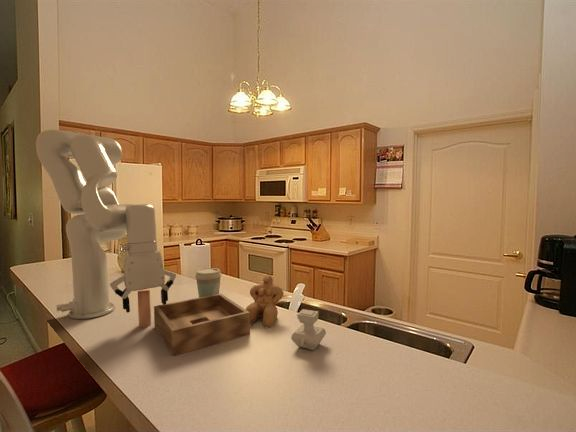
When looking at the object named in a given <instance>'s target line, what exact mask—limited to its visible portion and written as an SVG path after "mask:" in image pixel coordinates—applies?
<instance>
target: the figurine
mask: <svg viewBox="0 0 576 432" xmlns="http://www.w3.org/2000/svg"><path fill="white" fill-rule="evenodd" d="M262 281H263V283H262V284H256V285H253V286H252V287H251V288H250V290H249V295H250V296H251V298H252V299H253V301H254V302H252V303H250V304H248V306H246V308H245V310H247V311H248V312H250V325H253V324H254V323H256V321H257V320H258V318H260V317H262V323H263V327H264V328H266V329H268V328H271V327H272V326H274V324H275V322H276V320H277V318H278V314H279V312H278V311H279V310H278V307H277V306H276V304H278V303H279V301H281V299H282V298H283V297H284V294H285V293H284V290H283V289H282V287H280V286H278V285H275V284H274V283H273V282H274V281H273V277H272V275H270V274H266V275H264V277H263V279H262Z"/></svg>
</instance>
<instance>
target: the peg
mask: <svg viewBox="0 0 576 432" xmlns="http://www.w3.org/2000/svg"><path fill="white" fill-rule="evenodd" d="M137 313H138V327H140V328H148V327H150V326H151V325H152V316H151V315H152V313H151V290H150V289H143V290H137Z"/></svg>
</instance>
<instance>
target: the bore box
mask: <svg viewBox="0 0 576 432" xmlns="http://www.w3.org/2000/svg"><path fill="white" fill-rule="evenodd" d="M153 314H154V315H153V318H154V328H155V330H156V331H157V333H158V334H159V335H158V336H160V337H161V339H162V341H163V342H164V344H165V345H166V347H167V349H168V350H169V352H170V353H171V355H172V356H173V357H174V356H177V355H181V354H185V353H188V352H192V351H195V350H200V349H202V348H207V347H211V346H213V345H218V344H220V343H224V342H228V341H232V340H236V339H238V338H239V339H240V338H241V337H246V336H248V335H251V324H250V312H248V311H247V310H246V308H244V307H242V306H241V305H239V303H236V302H235V301H233V300H232V299H230V298H228V297H227V296H226V295H223V294H222V293H219V294H216V295H211V296H205V297H200V298H199V297H196V298H190V299H185V300H181V301H175V302H174V301H173V302H169V303H166V304H159V305H158V304H157V305H154V306H153Z"/></svg>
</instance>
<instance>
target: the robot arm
mask: <svg viewBox="0 0 576 432" xmlns="http://www.w3.org/2000/svg"><path fill="white" fill-rule="evenodd" d="M35 147H36V148H35V149H36V150H35V151H36V155H37V157H38V160H39V162H40V163H41V165H42V167H43V168H44V170H45V171H46V173H47V174H48V176H49V177H50V179H51V181H52V184H53V187H54V189H55V193H56V195H57V197H58V199H59V202H60V205H61V206H62V208H63V210H64V211H65V212H66V213H68V214H73V215H74V216H72V217H70V218H69V219H68V220H67V222H66V224H65V232H66V237H67V239H68V242H69V248H70V254H71V255H70V257H71V271H72V287H73V291H72V292H73V298H72V301H68V303H59V304H57V305H56V311H57V312H60V311H61V313H63V312H67V311H69V312H68V317H69V318H71V319H73V320H74V319H75V320H85V319H92V318H97V317H98V318H99V317H102V316H105V315H107V314H109V313H110V314H111V312H113V311H114V310H115V308H116V307H115V304H114V303H113V302H110V299H109V298H110V296H109V294H110V293H109V286H110V287H111V289H112V290H113V292H114V294H115V295H118V296H119V297H120V298H122V309H123V310H125V312H126V313H127V314H128V313H130V312H131V308H130V306H131V305H130V297H129V295H130V294H131V292H136V291H137V292H138V291H140V290H145V289H148V290H150V289H153V288H159V287H160V288H161V289H160V299H161V303H162V304H161V305H163V304H167V302H168V300H169V295H168V294H169V293H168V291H169V290H170V288H171V287H172V285H174V281H175V279H176V277H177V274H176V273H175V272H172V271H168V270H165V269H164V261H163V256H162V253H161V251H160V250H158V244H157V243H158V242H157V241H158V240H157V227H156V225H157V223H156V209H155V207H154V205H152V204H144V203H143V204H132V203H130V204H129V203H127V204H126V203H125V204H122V203H121V204H120V203H119V201H118V199H117V196H116V195H115V192H114V191H113V189H111V188H110V186H111V185H112V184H113V183H114V182H115V181H116V180H117V178H118V172H117V171H116V168H115V166H114V165H116V164H118V163H120V161H121V160H122V158H123V151H122V147H121V145H120V144H119V142H118V141H116V140H115V139H114V138H110V137H105V136H98V135H92V134H86V133H81V132H76V131H75V132H74V131H69V130H63V129H47V130H42V131H41V132H39V134H38V135H37V137H36V141H35ZM68 158H69V159H75V162H76V164H77V165H78V167H79V168H78V167H77V166H76V165H75V164H74V163H72V161H70V160H69V159H68ZM108 186H109V187H108ZM125 236H126V240H127V241H126V244H125V245H122V246H121V251H122V252H124V251H125V252H127V253H126V254H125V256H124V267H123V269H124V271H123V275H121V276H120V277H119V278H117V279H115V280H113V281H112V282H111V283H109V272H108V270H109V269H108V258H107V257H108V256H107V253H106V251H105V250H104V249H103V247H102V246H101V245H100V244H101V243H105V242H112V241H117V240H121V239H122V238H124V237H125ZM165 276H166V277H169V279H168V280H166V277H165ZM122 283H124V287H125V288H124V289H123V290H121V289H120V288H119V287H118V286H119V285H120V284H122Z"/></svg>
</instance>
